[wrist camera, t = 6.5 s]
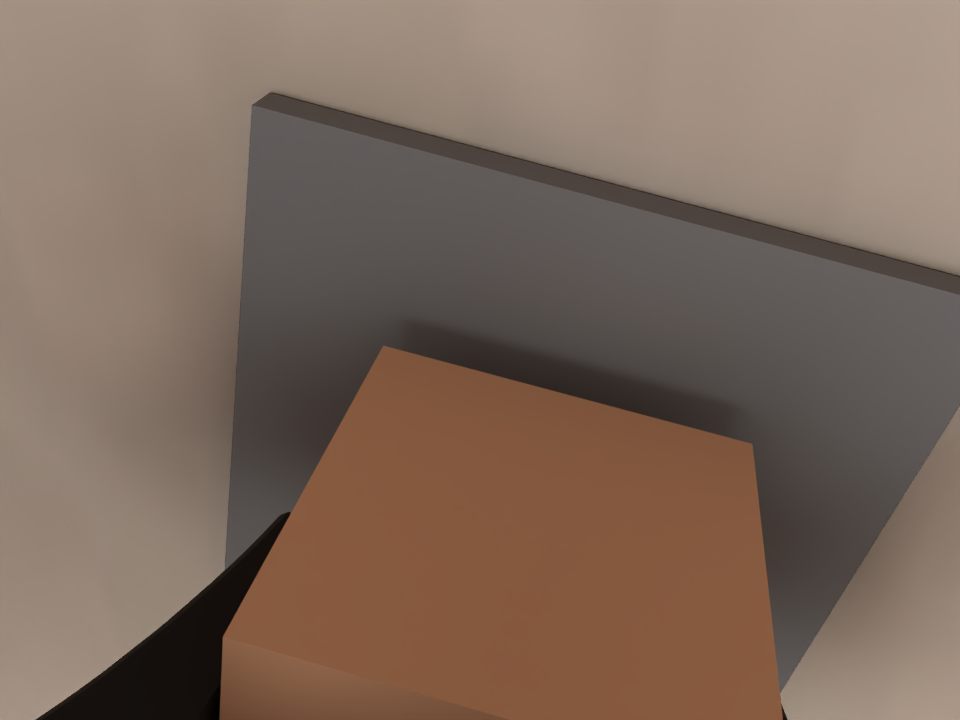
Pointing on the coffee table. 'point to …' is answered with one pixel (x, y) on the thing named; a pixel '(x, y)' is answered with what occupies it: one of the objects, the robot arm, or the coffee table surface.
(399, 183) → the mat
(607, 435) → the cube
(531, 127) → the coffee table surface
